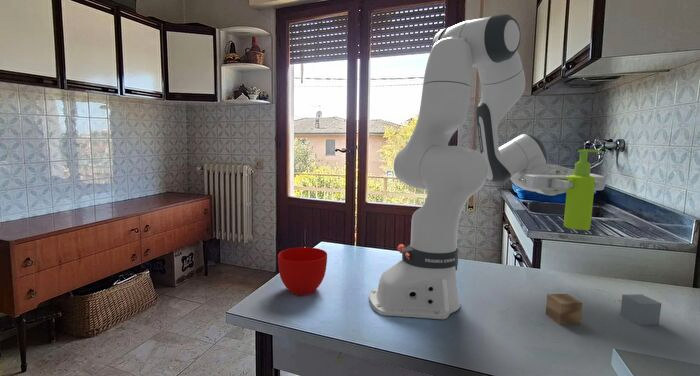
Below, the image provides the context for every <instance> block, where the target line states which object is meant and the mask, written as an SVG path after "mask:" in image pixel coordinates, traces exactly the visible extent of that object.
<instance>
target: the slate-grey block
mask: <svg viewBox="0 0 700 376" xmlns="http://www.w3.org/2000/svg"><path fill="white" fill-rule="evenodd" d="M662 305H663V304H662V303H661V302H659V301H658V300H655V299H653V298H651V297H649V296H646V295H644V294H640V293H639V294H637V293H635V294H622V295H621V304H620V313H619V314H620V316H622V317H624V318H626V319H627V320H629V321H631V322H632V323H635V324H636V325H638V326H643V325H644V326H645V325H650V326H651V325H660V318H661V311H662Z"/></svg>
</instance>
